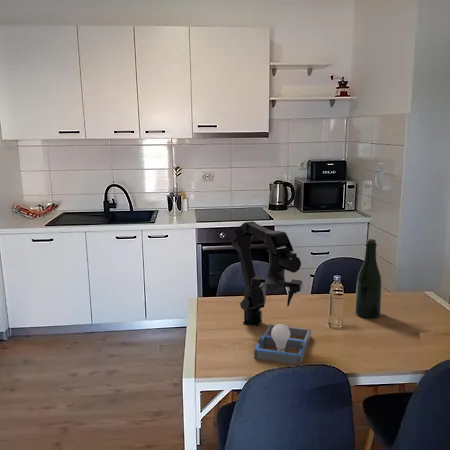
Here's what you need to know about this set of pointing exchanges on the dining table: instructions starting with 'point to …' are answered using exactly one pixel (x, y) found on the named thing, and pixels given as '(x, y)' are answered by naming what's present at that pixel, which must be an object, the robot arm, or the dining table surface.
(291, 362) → the tray organiser
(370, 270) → the green wine bottle
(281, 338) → the light bulb
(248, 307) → the robot arm
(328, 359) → the dining table surface
